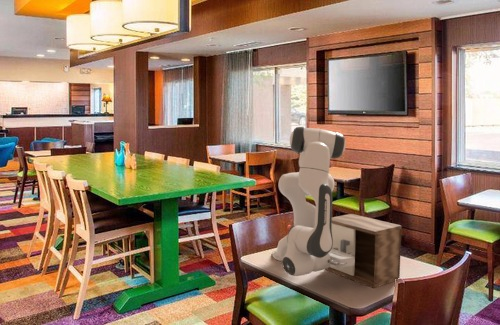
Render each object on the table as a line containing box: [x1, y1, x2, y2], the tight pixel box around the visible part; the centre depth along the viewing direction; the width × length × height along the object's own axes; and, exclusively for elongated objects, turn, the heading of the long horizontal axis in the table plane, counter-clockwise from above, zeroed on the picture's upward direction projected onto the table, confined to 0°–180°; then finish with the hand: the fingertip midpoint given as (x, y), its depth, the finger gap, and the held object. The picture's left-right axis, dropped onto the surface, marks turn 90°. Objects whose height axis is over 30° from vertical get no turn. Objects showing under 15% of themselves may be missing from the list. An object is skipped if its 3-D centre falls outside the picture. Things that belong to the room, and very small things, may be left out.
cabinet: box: [324, 213, 402, 289], centre depth 196 cm, size 16×26×22 cm, turn 36°
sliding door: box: [329, 223, 356, 276], centre depth 194 cm, size 5×13×19 cm, turn 36°
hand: (344, 252), depth 191 cm, fingers open, 7 cm apart
